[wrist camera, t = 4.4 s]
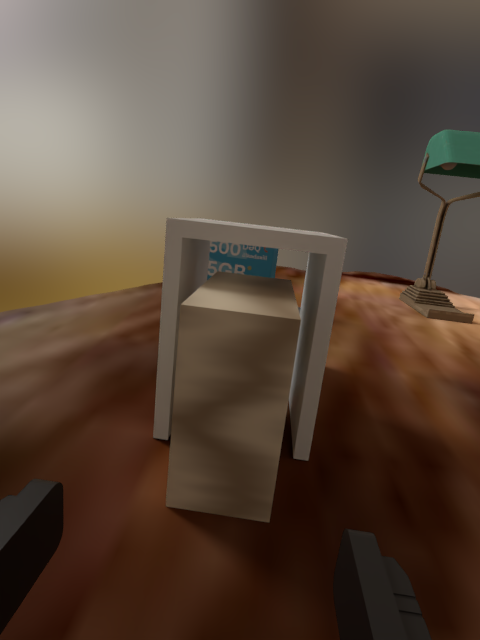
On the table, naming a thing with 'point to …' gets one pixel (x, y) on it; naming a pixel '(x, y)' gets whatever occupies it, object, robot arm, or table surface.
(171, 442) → the maple block
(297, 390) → the tunnel
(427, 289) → the banker's lamp
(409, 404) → the table surface
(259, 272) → the data package
